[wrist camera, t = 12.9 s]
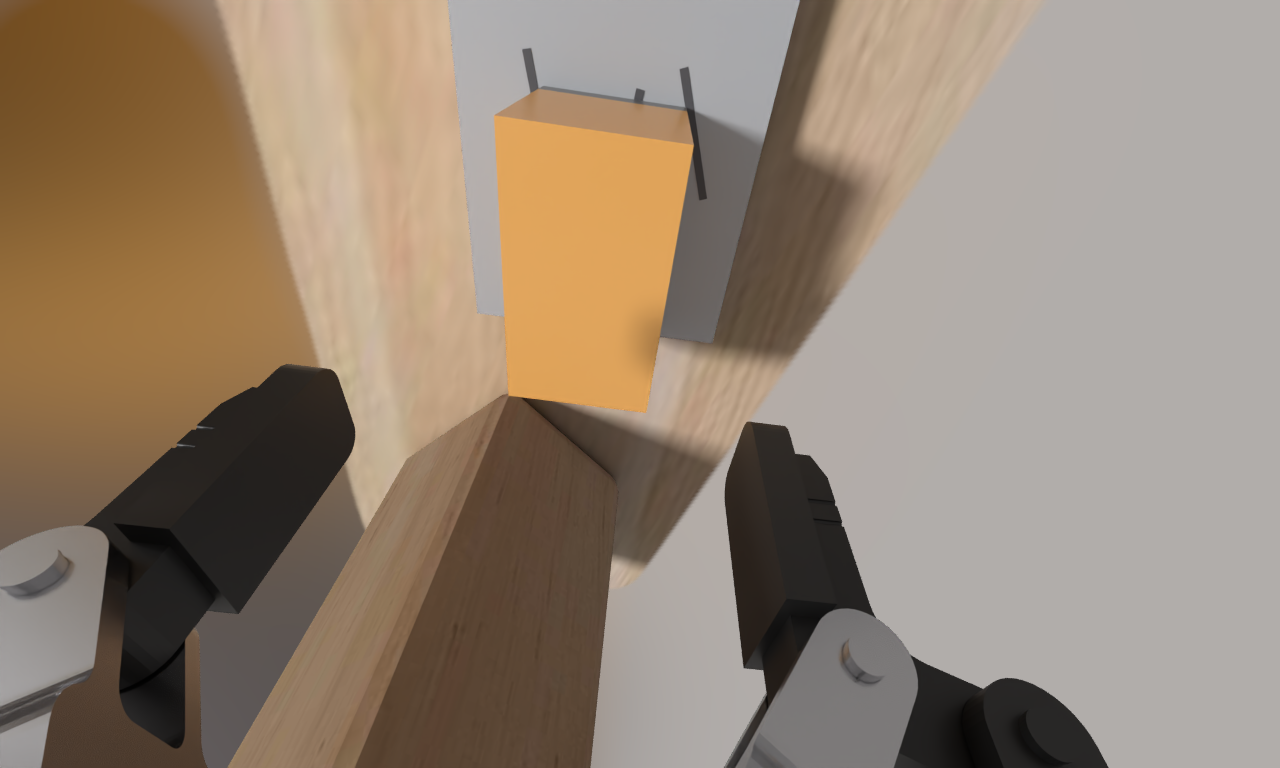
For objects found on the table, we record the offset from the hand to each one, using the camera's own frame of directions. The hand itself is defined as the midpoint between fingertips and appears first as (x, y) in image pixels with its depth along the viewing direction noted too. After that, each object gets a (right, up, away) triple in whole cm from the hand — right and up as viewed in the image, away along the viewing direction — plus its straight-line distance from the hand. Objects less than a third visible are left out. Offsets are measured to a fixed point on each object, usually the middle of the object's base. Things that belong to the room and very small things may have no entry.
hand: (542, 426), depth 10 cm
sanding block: (+1, +7, +10) cm, 12 cm away
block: (-6, -4, +21) cm, 23 cm away
